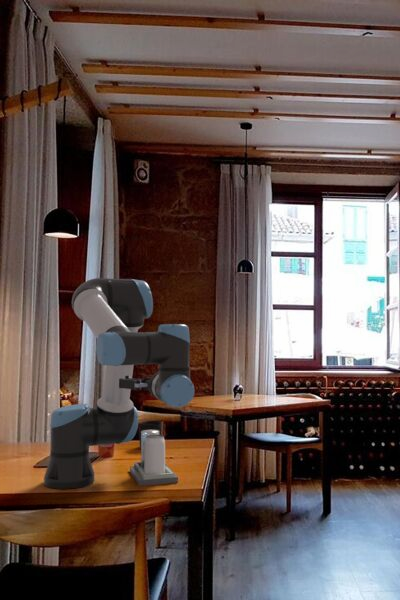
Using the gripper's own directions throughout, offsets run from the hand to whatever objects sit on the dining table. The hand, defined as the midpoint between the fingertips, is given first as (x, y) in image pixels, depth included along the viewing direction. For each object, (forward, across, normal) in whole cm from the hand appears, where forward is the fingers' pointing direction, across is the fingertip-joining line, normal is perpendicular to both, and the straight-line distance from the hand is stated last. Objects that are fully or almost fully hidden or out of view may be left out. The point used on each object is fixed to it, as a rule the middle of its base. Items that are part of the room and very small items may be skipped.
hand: (149, 380), depth 156 cm
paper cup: (+51, -7, -32) cm, 60 cm away
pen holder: (+62, +12, -32) cm, 71 cm away
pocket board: (+16, +4, -32) cm, 36 cm away
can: (+11, +4, -31) cm, 33 cm away
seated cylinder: (+20, +4, -30) cm, 37 cm away
